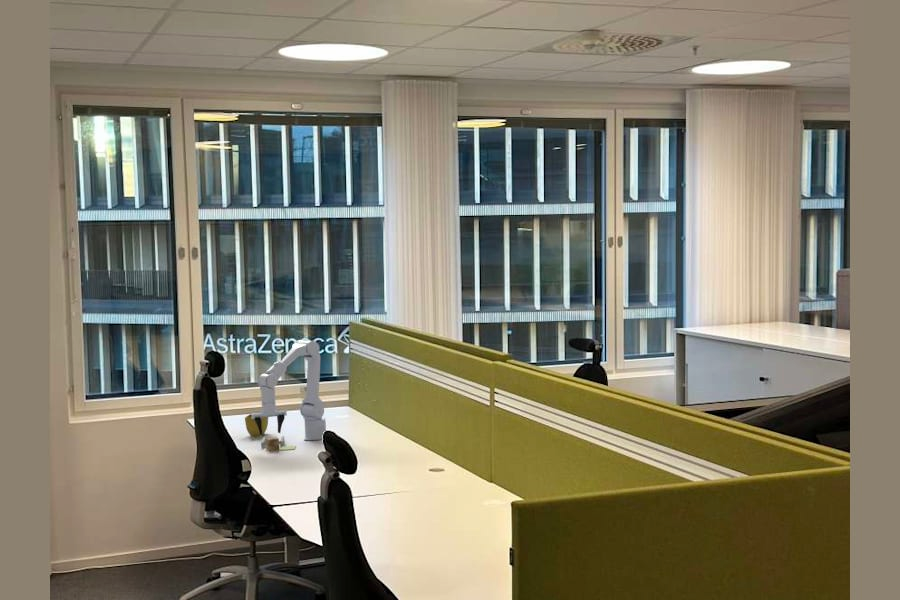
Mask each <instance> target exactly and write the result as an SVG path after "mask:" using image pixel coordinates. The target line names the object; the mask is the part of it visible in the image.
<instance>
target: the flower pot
mask: <svg viewBox="0 0 900 600" xmlns="http://www.w3.org/2000/svg"><path fill="white" fill-rule="evenodd" d="M251 414H252V413H250V414H247V416H245V417H244V422H245V428H246V431H247V432H248V435H250V436H251V437H258V436H259V437H261V436H264V434H265V433H266V431H267V428H268V424H269V417H264V418H261V420H262V435H260V432H259V429H258V426H257V424H256V422H255V420H254V419H252V416H251Z"/></svg>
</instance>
